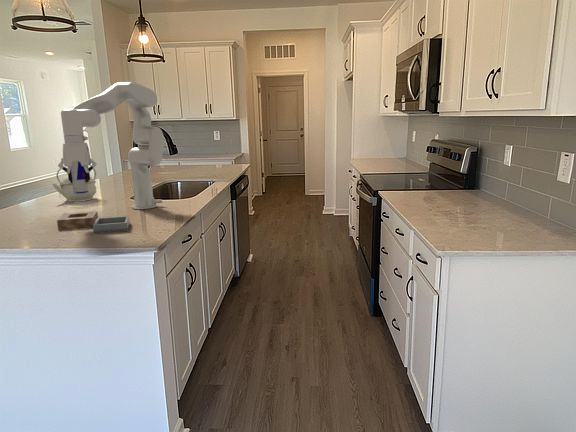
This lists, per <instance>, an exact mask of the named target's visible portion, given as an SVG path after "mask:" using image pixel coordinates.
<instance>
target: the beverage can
mask: <svg viewBox="0 0 576 432" xmlns="http://www.w3.org/2000/svg"><path fill="white" fill-rule="evenodd" d="M85 173H86V171H85V169H84V167H83V166H81V163H80V162H79V161H73V162H72V166H71V175H72V182H73V190H74V194H75V195H85V194H88V186H87V182H86V178H85Z"/></svg>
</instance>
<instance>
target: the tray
mask: <svg viewBox="0 0 576 432" xmlns="http://www.w3.org/2000/svg"><path fill="white" fill-rule="evenodd" d="M129 227H130V216H129V215H123V216H111V217H98V218H97V219H96V221H95V223H94V224H93V227H92V229H93V234H104V233H107V234H108V233H118V232H117V231H120V232H128V231H129ZM127 230H128V231H127Z"/></svg>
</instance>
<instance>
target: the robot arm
mask: <svg viewBox="0 0 576 432" xmlns="http://www.w3.org/2000/svg"><path fill="white" fill-rule="evenodd" d="M124 102H125V103H126V104H127V106H128V107H129V109H130V110H131V112H132V114H133V126H132V127H133V129H132V141H133V143H135V144H136V145H140V147H139V146H138V147H132V148H131V149H130V150H129V151H128V153H127V159H128V162H129V167H130V170H131V179H132V181H131V183H132V191H133V201H134V204H132V205H131V209H134V210H149V209H154V208H156V207H157V206H158V205H157V204H163V199H161V198H160V199H159V198H158V199H155V197H154V194H153V193H154V192H153V181H152V172H151V169H149V167H157V166H159V165H161V163H162V160H163V154H164V153H163V152H164V140H165V139H164V133H163V131H162V129H161V128H160V127H158V126H154V125H153V126H152V117H151V114H150V112H149V110H148V109H147V108H153V107H155V106H156V105H157V103H158V96H157V93H156V92H155V91H154V90H152V89H151V88H149V87H146V86H145V85H143V84H140V83H137V82H134V81H120V82H119V81H118V82H116V83H113V85H111V86H110V87H108V88H107V89H105V90H104V91H103V92H102V93H100V94H98V95H96V96H93V97H91V98H89V99H87V100H84V101H82V102H80V103H78V104H76V105H75V106H73V108H71V109H63V110H61V111H60V118H61V119H60V120H61V125H62V132H63V133H62V135H63V139H64V140H63V141H64V143H62V158H63V160H62V161H61V160H60V162H59V163H58V165H57V167H58V168H59V169H60V168H61V170H63V171H64V172H65V173H66V174H67V176H68V178H69V181H70V183H73V182H72V175H71V166H72V162H73V161H79V162H80V163H81V166H83V167H84V169H85V171H86V173H85V178H86V182H89V180H90V176H91V174H90V172H92V170H93V168H94V169H95V167H97V165H98V164H97V162H95V160H94V159H92V158H91V154H90V150H89V145H88V143H87V142H86V141H88V140H89V137H88V136H85V134H84V128H95V127H97V126H99V125H100V124H101V121H102V117H101V115H102V114H104V115H105V114H107V113H108V114H109V113H110V112H113V111H115V109H117V108H118V107H119V106H121V105H122V104H123V103H124ZM141 146H146V147H141ZM147 146H148V147H147ZM90 165H91V166H90Z"/></svg>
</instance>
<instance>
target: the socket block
mask: <svg viewBox="0 0 576 432" xmlns="http://www.w3.org/2000/svg"><path fill="white" fill-rule="evenodd" d="M97 218H99V215H98V210H93V211H77V212H76V211H75V212H64V213H62V215H60V217H58V218H57V219H56V223H57V224H56V225H57V230H65V229H66V230H67V229H78V228H80V229H81V227H82V228H93V224H94V223H95V221H96V219H97Z"/></svg>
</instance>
